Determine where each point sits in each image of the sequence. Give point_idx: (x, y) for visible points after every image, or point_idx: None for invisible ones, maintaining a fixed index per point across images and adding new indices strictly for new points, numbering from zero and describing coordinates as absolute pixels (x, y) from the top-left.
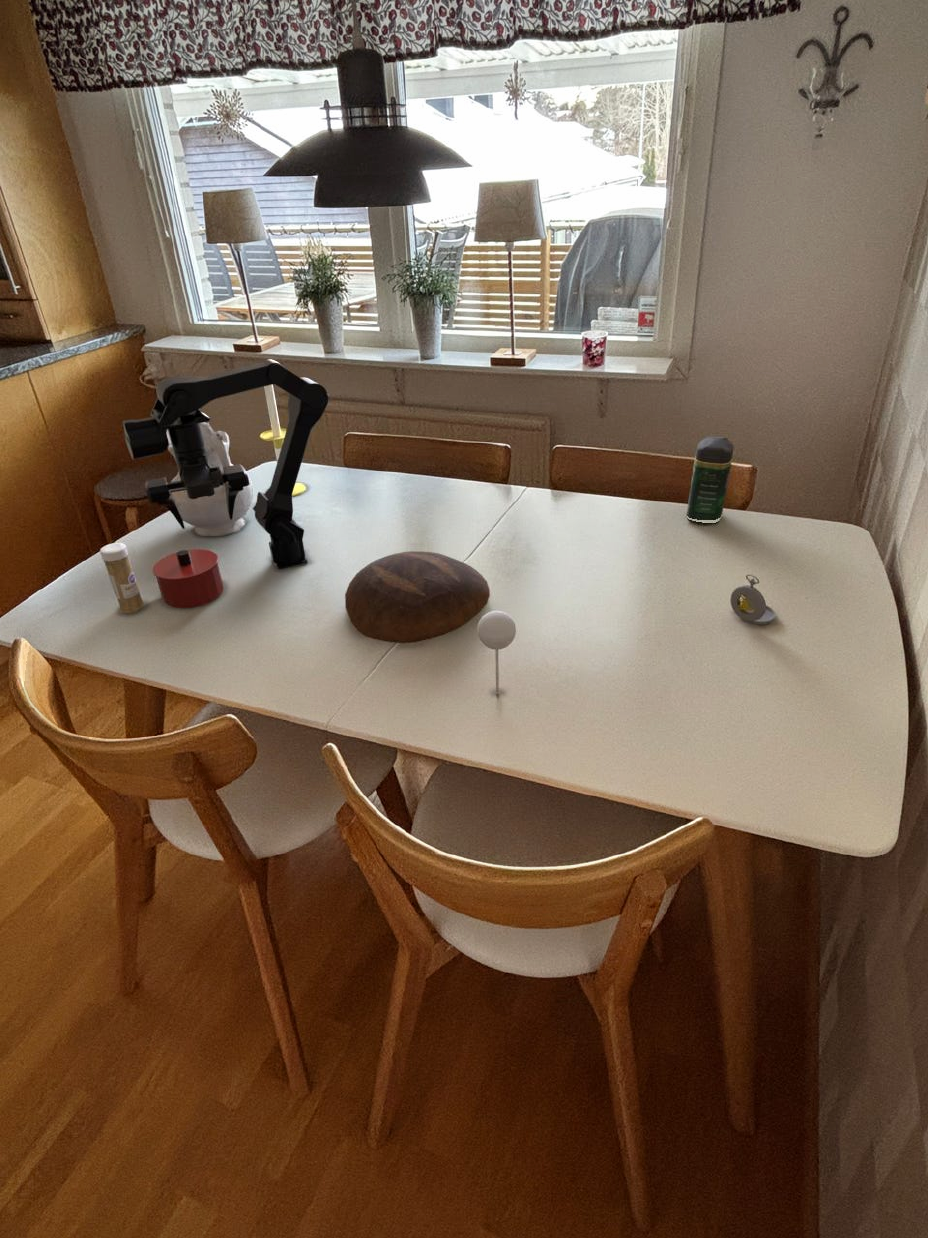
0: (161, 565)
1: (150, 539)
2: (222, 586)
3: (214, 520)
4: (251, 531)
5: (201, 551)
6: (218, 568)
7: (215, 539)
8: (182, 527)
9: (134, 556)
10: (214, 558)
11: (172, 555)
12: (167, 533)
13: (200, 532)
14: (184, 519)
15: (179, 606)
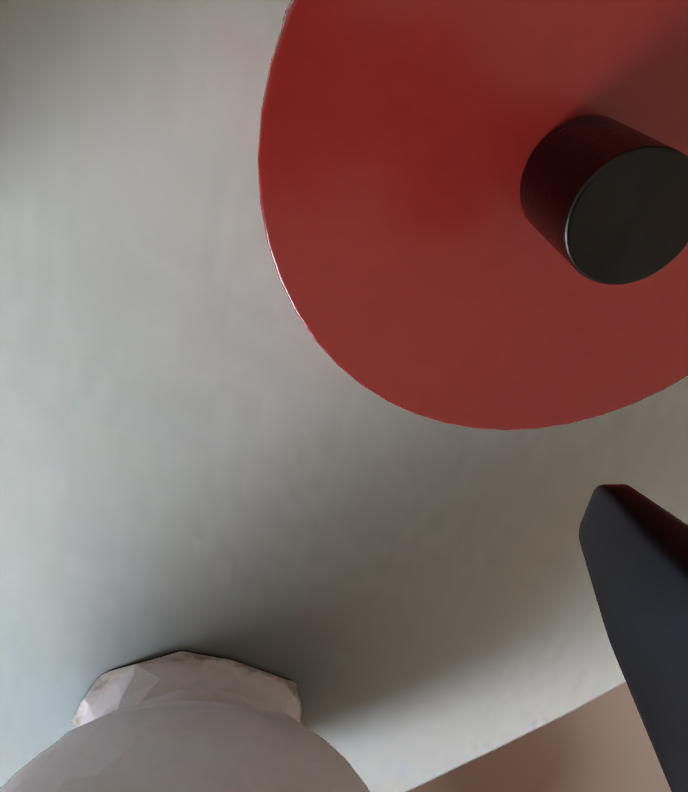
0: None
1: (476, 706)
2: (284, 17)
3: (203, 729)
4: (45, 648)
5: (379, 346)
6: None
7: (227, 636)
8: (640, 495)
9: (578, 619)
10: (300, 127)
11: (600, 384)
12: (405, 725)
13: (283, 695)
14: (350, 767)
15: None
